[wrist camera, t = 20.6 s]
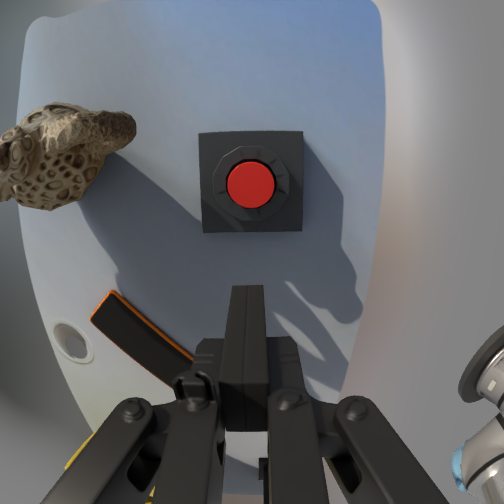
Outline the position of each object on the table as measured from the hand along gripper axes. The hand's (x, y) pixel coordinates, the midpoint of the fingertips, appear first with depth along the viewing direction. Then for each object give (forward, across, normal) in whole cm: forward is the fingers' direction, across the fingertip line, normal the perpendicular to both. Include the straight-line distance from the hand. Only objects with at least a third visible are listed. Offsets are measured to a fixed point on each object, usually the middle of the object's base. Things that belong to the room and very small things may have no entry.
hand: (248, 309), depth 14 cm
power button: (+14, 0, +5) cm, 15 cm away
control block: (+17, 0, +5) cm, 18 cm away
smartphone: (+17, -15, -16) cm, 28 cm away
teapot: (+18, -20, +10) cm, 28 cm away
